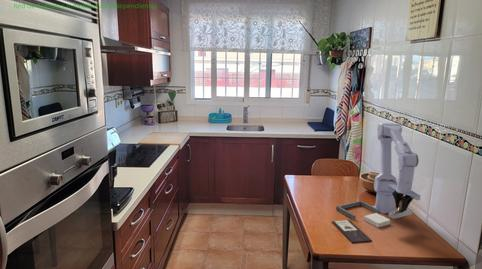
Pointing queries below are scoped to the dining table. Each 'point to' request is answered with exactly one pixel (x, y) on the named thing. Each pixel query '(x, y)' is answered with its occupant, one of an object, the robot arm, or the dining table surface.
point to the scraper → (399, 211)
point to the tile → (377, 220)
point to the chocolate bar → (351, 231)
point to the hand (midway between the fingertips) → (401, 209)
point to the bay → (342, 207)
